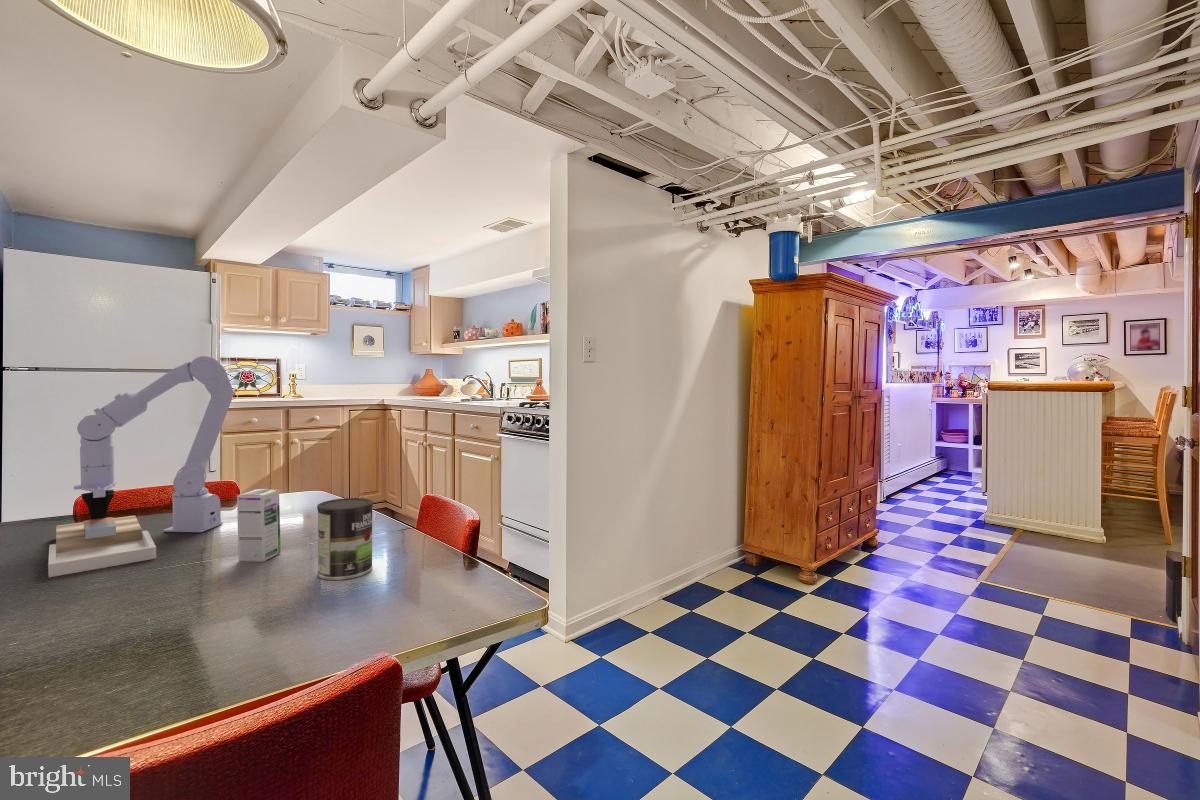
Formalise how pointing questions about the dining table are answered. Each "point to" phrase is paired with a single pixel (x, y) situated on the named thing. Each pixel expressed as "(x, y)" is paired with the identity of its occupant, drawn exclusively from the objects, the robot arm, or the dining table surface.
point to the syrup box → (258, 525)
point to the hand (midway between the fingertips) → (98, 522)
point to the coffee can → (344, 538)
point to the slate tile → (100, 530)
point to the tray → (100, 556)
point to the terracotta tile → (97, 521)
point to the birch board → (74, 537)
